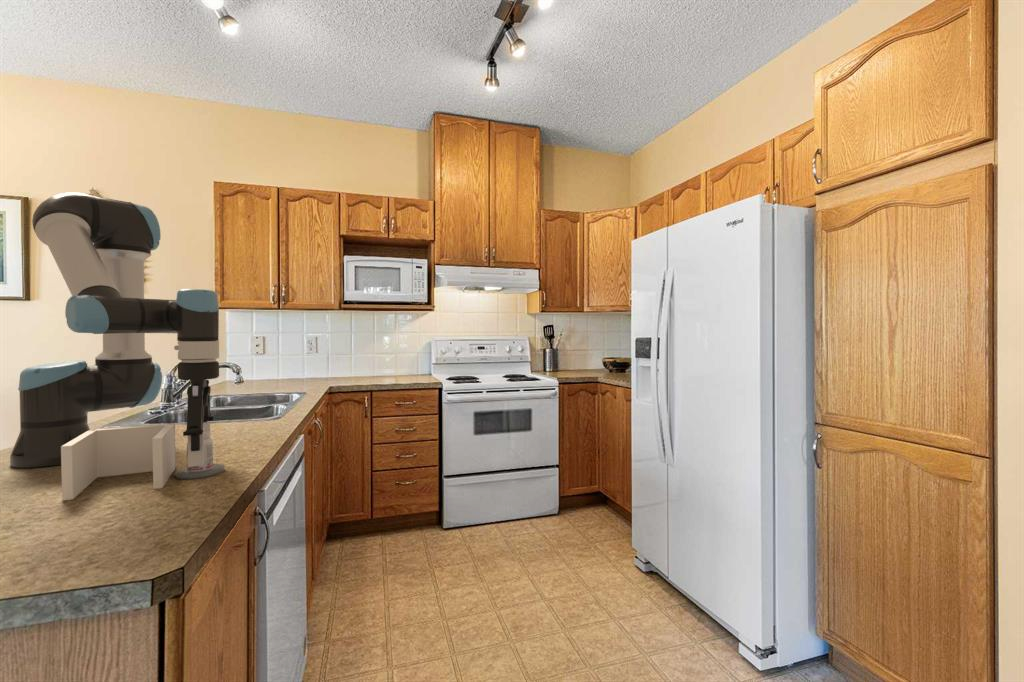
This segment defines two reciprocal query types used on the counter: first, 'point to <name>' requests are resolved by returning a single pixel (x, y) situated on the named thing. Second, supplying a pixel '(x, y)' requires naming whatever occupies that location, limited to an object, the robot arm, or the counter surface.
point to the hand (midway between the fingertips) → (199, 457)
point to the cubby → (117, 456)
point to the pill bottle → (207, 454)
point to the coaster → (199, 473)
